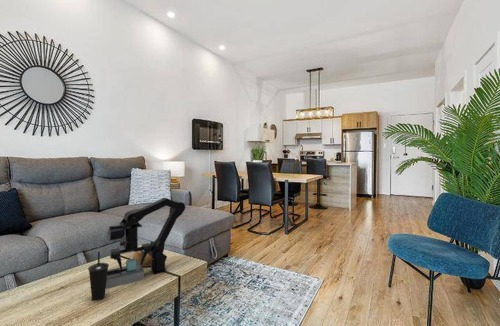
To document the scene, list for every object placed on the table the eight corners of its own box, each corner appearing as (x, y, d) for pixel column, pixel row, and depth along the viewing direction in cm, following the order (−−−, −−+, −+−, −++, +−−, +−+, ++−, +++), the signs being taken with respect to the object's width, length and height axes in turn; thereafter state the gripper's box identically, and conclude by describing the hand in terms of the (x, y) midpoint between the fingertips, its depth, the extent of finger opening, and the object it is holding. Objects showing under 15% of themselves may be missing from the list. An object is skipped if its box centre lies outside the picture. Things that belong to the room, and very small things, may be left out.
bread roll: (140, 270, 136) (140, 255, 136) (129, 262, 147) (129, 248, 147) (157, 265, 143) (157, 251, 143) (145, 257, 154) (145, 244, 154)
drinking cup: (93, 304, 104) (94, 256, 104) (84, 298, 108) (84, 252, 108) (112, 296, 111) (112, 251, 110) (102, 291, 115) (103, 247, 114)
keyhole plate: (139, 272, 134) (139, 263, 134) (143, 279, 126) (143, 269, 126) (100, 281, 123) (100, 271, 123) (102, 289, 116) (102, 278, 116)
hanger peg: (134, 272, 130) (135, 258, 130) (136, 276, 127) (136, 261, 127) (125, 275, 128) (125, 260, 128) (127, 278, 124) (127, 263, 124)
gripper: (146, 229, 139) (146, 258, 139) (108, 235, 128) (108, 266, 128) (152, 235, 130) (151, 265, 130) (111, 241, 119) (111, 274, 119)
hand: (131, 267), depth 127 cm, fingers open, 9 cm apart
